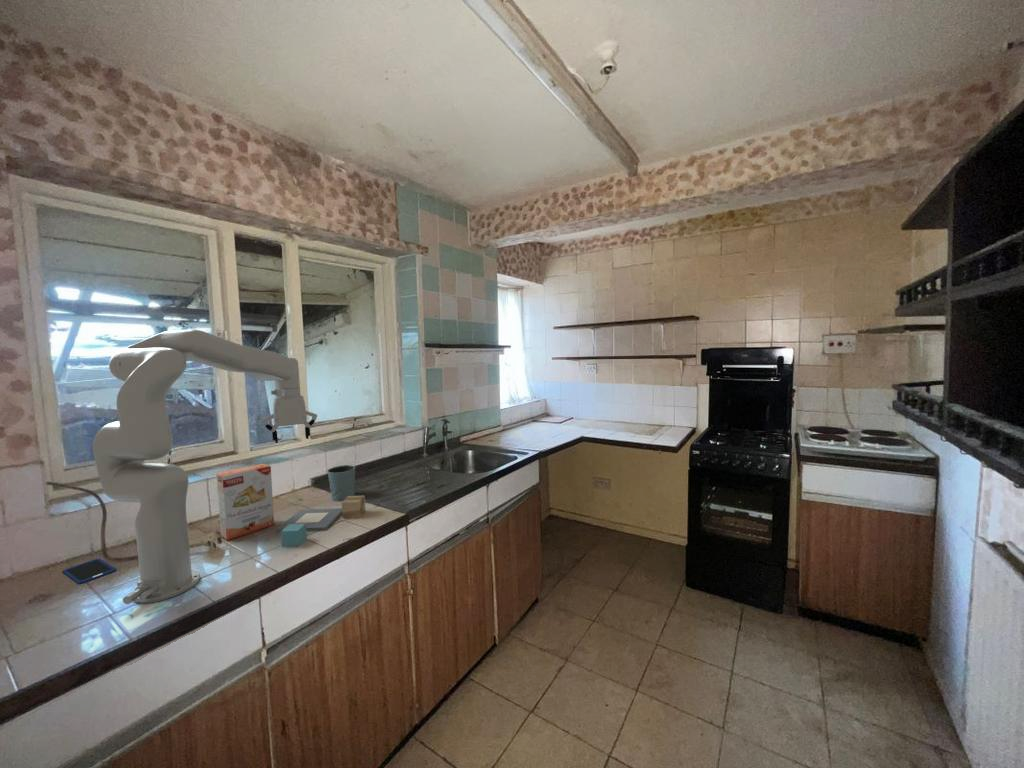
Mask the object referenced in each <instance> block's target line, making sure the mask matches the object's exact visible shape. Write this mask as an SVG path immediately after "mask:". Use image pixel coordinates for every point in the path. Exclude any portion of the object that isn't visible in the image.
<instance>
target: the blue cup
mask: <svg viewBox="0 0 1024 768" xmlns="http://www.w3.org/2000/svg"><path fill="white" fill-rule="evenodd" d="M355 476H356V467H355V465H352V464H344V465H338V466H333V467H331V468H329V469H327V477H328V482H329V488H330V495H331V500H332V501H334V502H343V501H344V500H345V499H346V498H347V497H348V496H356V495H355V494H356V493H355V492H356V491H355V490H356V489H355V485H356V483H355V482H356V481H355Z"/></svg>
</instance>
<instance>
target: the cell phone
mask: <svg viewBox="0 0 1024 768" xmlns="http://www.w3.org/2000/svg"><path fill="white" fill-rule="evenodd" d="M117 570H118V569H117V568H116V567H114V566H113V565H111V564H109V563H108V562H106V561H105V560H103V559H101V558H94V559H91V560H89V561H85V562H83V563H80V564H77V565H74V566H71V567H68V568H65V569H63V570H62V573H63V574H64V575H65V576H66V577H68V578H69V579H71V580H72V581H73V582H75V583H76V584H78V585H82V584H86V583H88V582H90V581H93V580H96V579H99V578H101V577H105V576H107V575H111V574H112V573H115V572H117Z"/></svg>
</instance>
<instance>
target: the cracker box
mask: <svg viewBox="0 0 1024 768" xmlns="http://www.w3.org/2000/svg"><path fill="white" fill-rule="evenodd" d="M216 486H217V487H216V488H217V497H218V498H217V500H218V513H219V514H218V515H219V527H220V529H219V530H220V536H221V537H222V538H223V539H225V541H226V540H227V541H229V540H232V539H235V538H239V537H241V536H245V535H248V534H251V533H253V532H256V531H260V530H263V529H265V528H269V527H272V526H274V525H275V522H274V521H275V517H274V515H275V514H274V505H273V504H274V502H273V501H274V499H273V481H272V467H271V466H270V465H268V464H265V463H261V464H260V463H259V464H255V465H252V466H247V467H241V468H237V469H231V470H227V471H223V472H222V471H221V472H218V473H216Z"/></svg>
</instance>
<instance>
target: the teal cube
mask: <svg viewBox="0 0 1024 768" xmlns="http://www.w3.org/2000/svg"><path fill="white" fill-rule="evenodd" d="M307 536H308V534H307V531H306V524H289V525H288V526H287V527H285V528H284V529H283V530H282V531H281V532H280V539H281V541H280V542H281V547H282V548H290V547H293V548H294V547H300V546H301V545H302V544H303V543H305V541H306V540H307V539H308V537H307Z"/></svg>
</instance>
